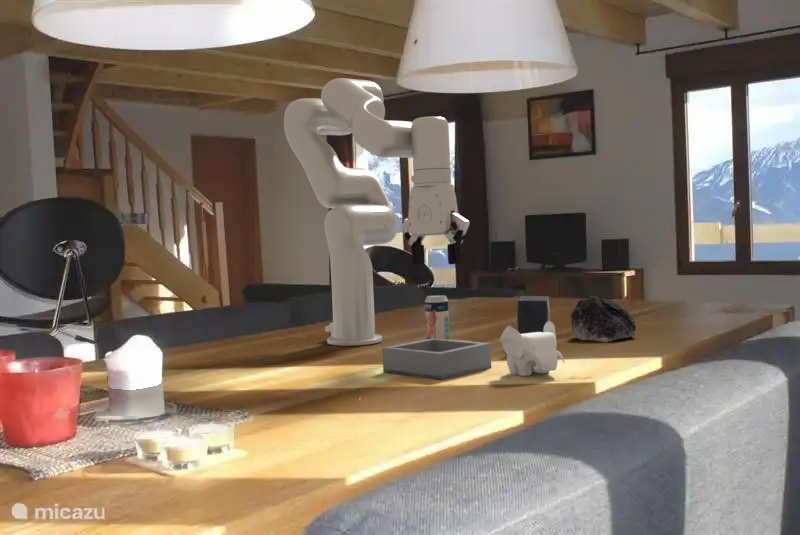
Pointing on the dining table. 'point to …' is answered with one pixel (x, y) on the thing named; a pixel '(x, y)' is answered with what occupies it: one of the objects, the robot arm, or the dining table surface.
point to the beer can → (437, 317)
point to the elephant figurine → (531, 350)
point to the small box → (532, 313)
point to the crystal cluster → (601, 320)
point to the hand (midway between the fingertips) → (436, 264)
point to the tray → (436, 358)
